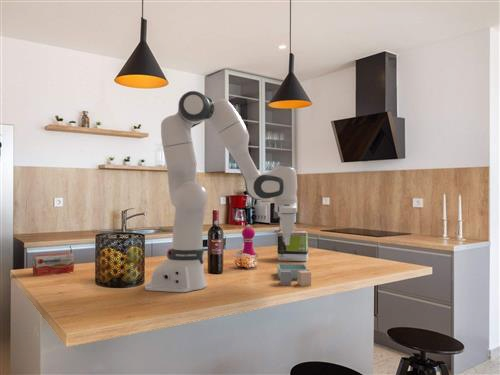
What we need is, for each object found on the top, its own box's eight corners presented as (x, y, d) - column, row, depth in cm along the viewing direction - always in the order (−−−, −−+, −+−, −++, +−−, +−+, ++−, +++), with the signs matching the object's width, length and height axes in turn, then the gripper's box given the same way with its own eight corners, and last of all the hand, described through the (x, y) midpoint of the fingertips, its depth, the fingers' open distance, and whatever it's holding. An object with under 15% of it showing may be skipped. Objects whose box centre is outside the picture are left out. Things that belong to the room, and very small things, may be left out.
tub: (279, 279, 165) (279, 269, 166) (277, 273, 178) (277, 263, 178) (309, 279, 165) (309, 269, 165) (305, 273, 178) (305, 264, 178)
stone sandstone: (301, 286, 154) (301, 272, 154) (297, 283, 158) (297, 270, 158) (311, 285, 155) (311, 272, 155) (306, 283, 159) (307, 270, 159)
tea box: (308, 258, 217) (308, 230, 217) (306, 262, 207) (306, 232, 207) (280, 257, 220) (280, 230, 221) (277, 260, 211) (277, 231, 211)
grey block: (280, 285, 156) (280, 271, 156) (280, 282, 160) (280, 269, 160) (291, 285, 156) (291, 272, 156) (290, 282, 160) (290, 270, 160)
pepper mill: (254, 268, 188) (254, 225, 188) (238, 268, 189) (239, 225, 189) (257, 266, 195) (257, 224, 195) (242, 265, 196) (242, 223, 197)
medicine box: (34, 277, 169) (35, 257, 169) (32, 273, 175) (32, 255, 175) (74, 273, 177) (74, 254, 178) (70, 270, 184) (70, 252, 184)
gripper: (276, 206, 169) (276, 240, 169) (279, 208, 148) (279, 247, 148) (291, 206, 169) (291, 240, 168) (296, 208, 148) (297, 247, 148)
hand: (286, 243), depth 158 cm, fingers open, 8 cm apart
